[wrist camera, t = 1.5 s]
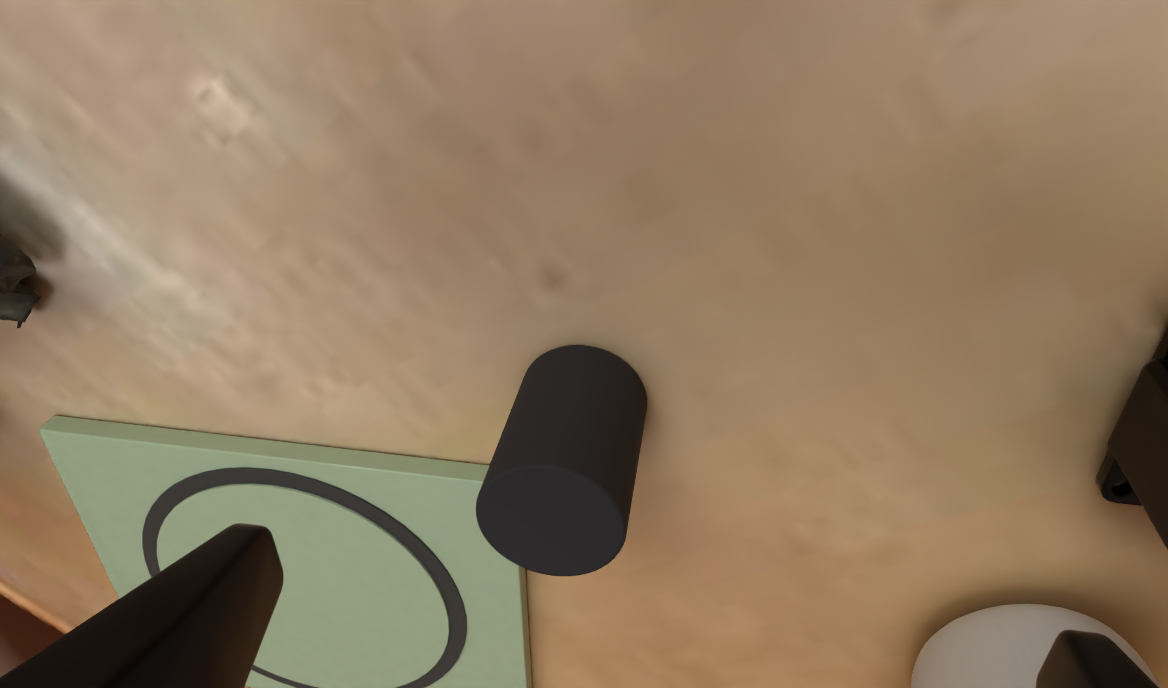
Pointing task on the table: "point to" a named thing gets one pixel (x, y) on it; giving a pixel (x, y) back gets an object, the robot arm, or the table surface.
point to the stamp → (566, 464)
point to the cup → (1003, 647)
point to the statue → (15, 283)
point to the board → (314, 549)
